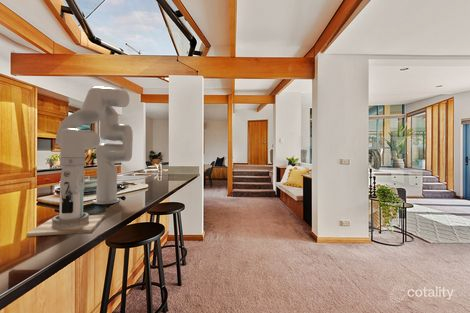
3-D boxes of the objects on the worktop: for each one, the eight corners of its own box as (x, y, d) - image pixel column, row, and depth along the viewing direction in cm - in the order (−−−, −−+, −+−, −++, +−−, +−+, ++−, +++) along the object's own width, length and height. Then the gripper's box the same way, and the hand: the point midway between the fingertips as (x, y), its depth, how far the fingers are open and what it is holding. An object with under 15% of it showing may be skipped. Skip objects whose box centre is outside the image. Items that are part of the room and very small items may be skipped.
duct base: (53, 219, 88) (53, 210, 88) (104, 217, 94) (104, 209, 93) (26, 236, 71) (26, 225, 71) (91, 232, 76) (91, 222, 76)
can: (54, 221, 79) (54, 187, 79) (69, 215, 86) (70, 184, 86) (73, 222, 79) (74, 188, 79) (87, 216, 86) (88, 185, 86)
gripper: (75, 164, 75) (74, 216, 75) (91, 161, 91) (90, 204, 92) (49, 163, 73) (47, 217, 73) (70, 160, 89) (69, 204, 89)
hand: (71, 209), depth 82 cm, fingers closed on can, 7 cm apart
